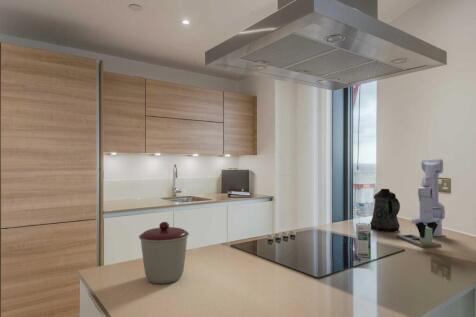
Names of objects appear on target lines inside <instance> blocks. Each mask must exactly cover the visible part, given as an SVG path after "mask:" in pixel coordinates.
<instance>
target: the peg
mask: <svg viewBox="0 0 476 317" xmlns="http://www.w3.org/2000/svg"><path fill="white" fill-rule="evenodd" d="M419 237H420V236H419ZM432 241H433V238H432V228H430V227H426V228H425V237H424V238H421V237H420V242H421V243H423V244H432Z"/></svg>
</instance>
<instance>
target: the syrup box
mask: <svg viewBox="0 0 476 317" xmlns="http://www.w3.org/2000/svg"><path fill="white" fill-rule="evenodd" d="M355 227H356V228H355V230H356V232H355V234H356V235H355V236H356V237H355V238H356V239H355V240H356V242H355V244H356V256H357V258H372V247H371V244H372V243H371V239H372V238H371V237H372V236H371V235H372V234H371V230H372V229H371V225H370V222H368V223H367V222H355Z"/></svg>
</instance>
